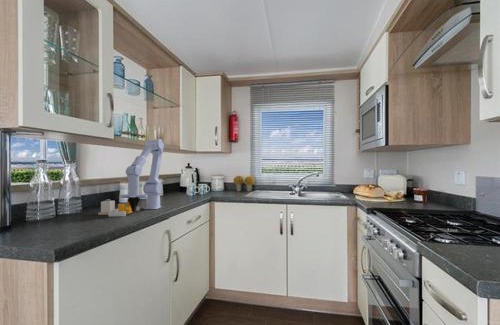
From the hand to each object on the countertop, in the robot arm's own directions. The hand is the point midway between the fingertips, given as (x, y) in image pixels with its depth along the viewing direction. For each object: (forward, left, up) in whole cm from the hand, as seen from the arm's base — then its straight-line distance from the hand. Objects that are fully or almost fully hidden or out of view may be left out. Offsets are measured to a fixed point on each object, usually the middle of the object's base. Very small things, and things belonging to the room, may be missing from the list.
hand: (133, 210), depth 141 cm
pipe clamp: (+1, -5, -2) cm, 5 cm away
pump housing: (0, -15, -1) cm, 15 cm away
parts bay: (0, -5, -1) cm, 5 cm away
